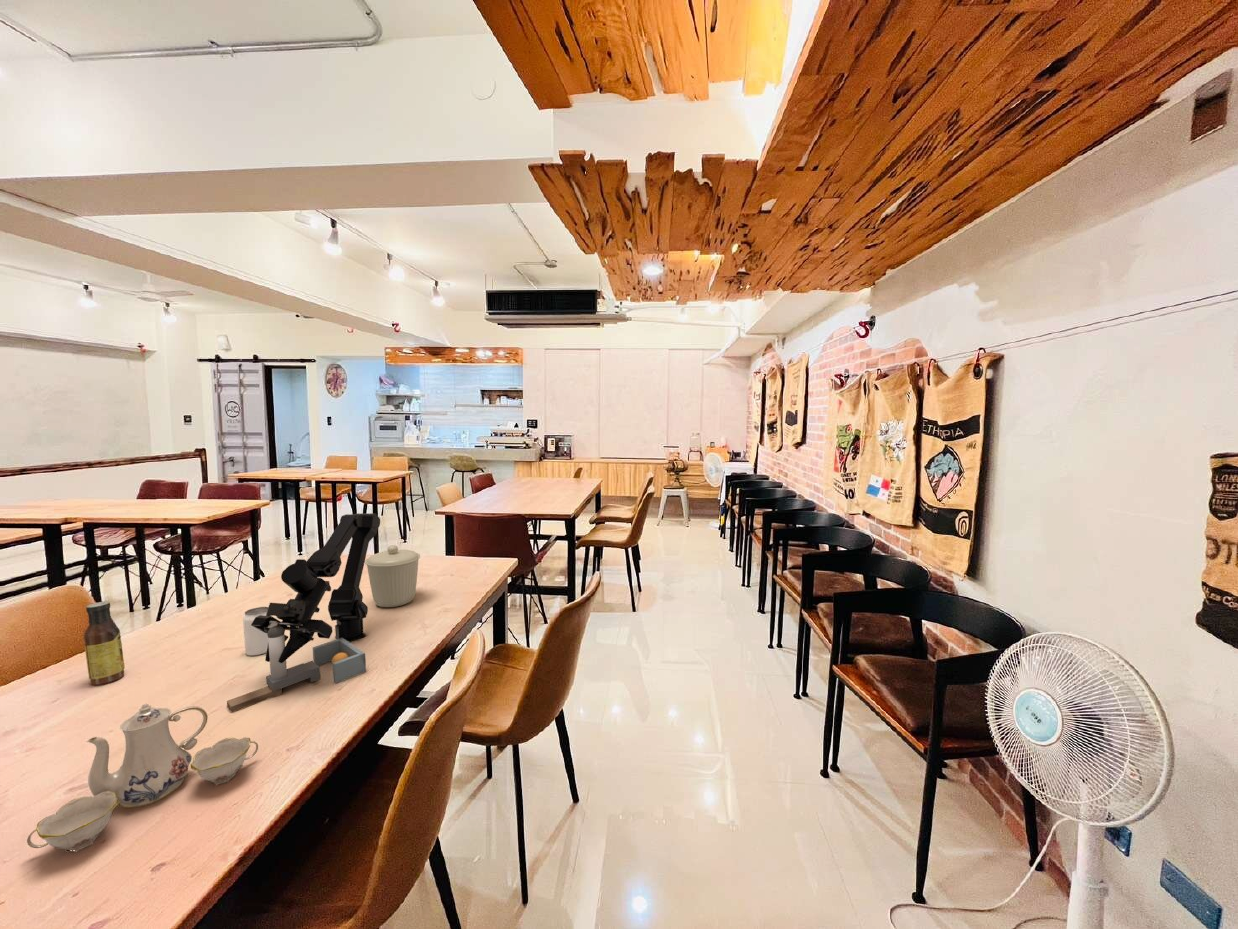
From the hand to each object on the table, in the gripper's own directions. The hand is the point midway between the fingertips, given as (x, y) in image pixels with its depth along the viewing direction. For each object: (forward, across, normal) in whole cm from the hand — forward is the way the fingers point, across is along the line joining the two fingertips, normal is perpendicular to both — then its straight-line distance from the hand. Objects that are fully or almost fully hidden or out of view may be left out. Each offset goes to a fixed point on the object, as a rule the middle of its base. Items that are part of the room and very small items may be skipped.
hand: (273, 662), depth 114 cm
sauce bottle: (+7, -48, +5) cm, 48 cm away
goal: (-3, +7, +15) cm, 16 cm away
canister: (-34, -7, +46) cm, 58 cm away
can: (-7, -23, +18) cm, 30 cm away
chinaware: (+28, +6, -16) cm, 33 cm away
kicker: (+3, +1, +8) cm, 9 cm away
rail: (+8, -2, +3) cm, 9 cm away
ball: (-5, +7, +14) cm, 16 cm away
